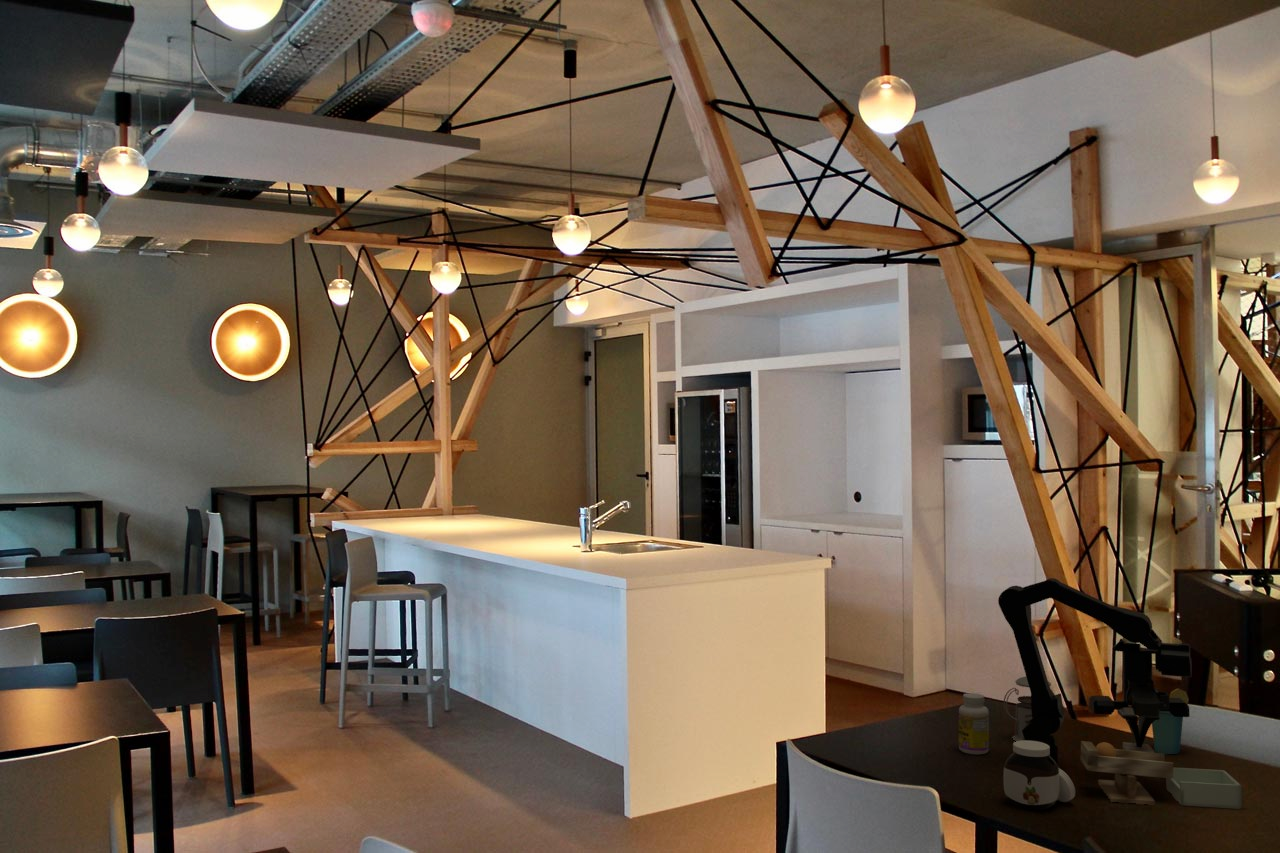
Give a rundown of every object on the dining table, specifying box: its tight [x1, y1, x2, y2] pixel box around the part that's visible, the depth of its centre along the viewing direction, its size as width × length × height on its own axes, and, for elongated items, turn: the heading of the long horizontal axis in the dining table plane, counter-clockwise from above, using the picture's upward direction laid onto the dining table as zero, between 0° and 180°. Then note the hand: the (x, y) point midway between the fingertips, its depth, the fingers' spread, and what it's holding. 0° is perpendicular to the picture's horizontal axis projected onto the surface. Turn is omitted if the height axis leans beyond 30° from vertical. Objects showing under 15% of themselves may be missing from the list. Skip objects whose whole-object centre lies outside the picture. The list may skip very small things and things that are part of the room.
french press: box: [1003, 635, 1052, 742], centre depth 259 cm, size 10×12×25 cm
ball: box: [1095, 741, 1116, 757], centre depth 221 cm, size 4×4×4 cm
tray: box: [1165, 766, 1243, 810], centre depth 218 cm, size 11×10×4 cm
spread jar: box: [1003, 740, 1076, 811], centre depth 215 cm, size 12×11×12 cm
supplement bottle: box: [958, 692, 990, 756], centre depth 250 cm, size 7×7×13 cm
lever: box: [1079, 740, 1174, 779], centre depth 225 cm, size 16×17×4 cm
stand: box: [1097, 773, 1156, 806], centre depth 220 cm, size 8×12×5 cm, turn 169°
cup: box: [1151, 688, 1190, 755], centre depth 250 cm, size 14×8×15 cm, turn 122°
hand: (1139, 746), depth 230 cm, fingers closed, pressing on lever
